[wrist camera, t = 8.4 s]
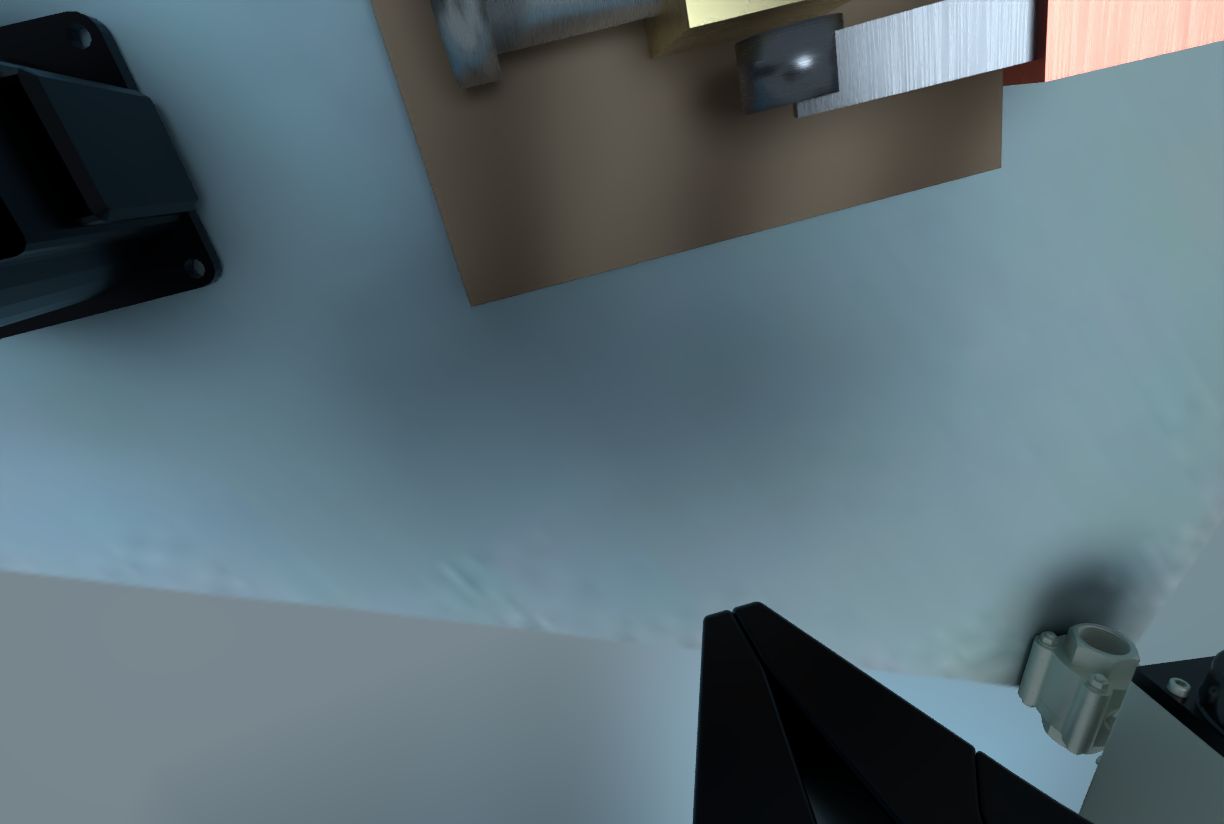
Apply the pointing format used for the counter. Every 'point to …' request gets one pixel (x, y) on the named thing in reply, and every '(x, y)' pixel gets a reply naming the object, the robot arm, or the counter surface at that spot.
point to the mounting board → (654, 148)
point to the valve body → (601, 25)
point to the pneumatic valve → (1133, 725)
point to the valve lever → (960, 47)
